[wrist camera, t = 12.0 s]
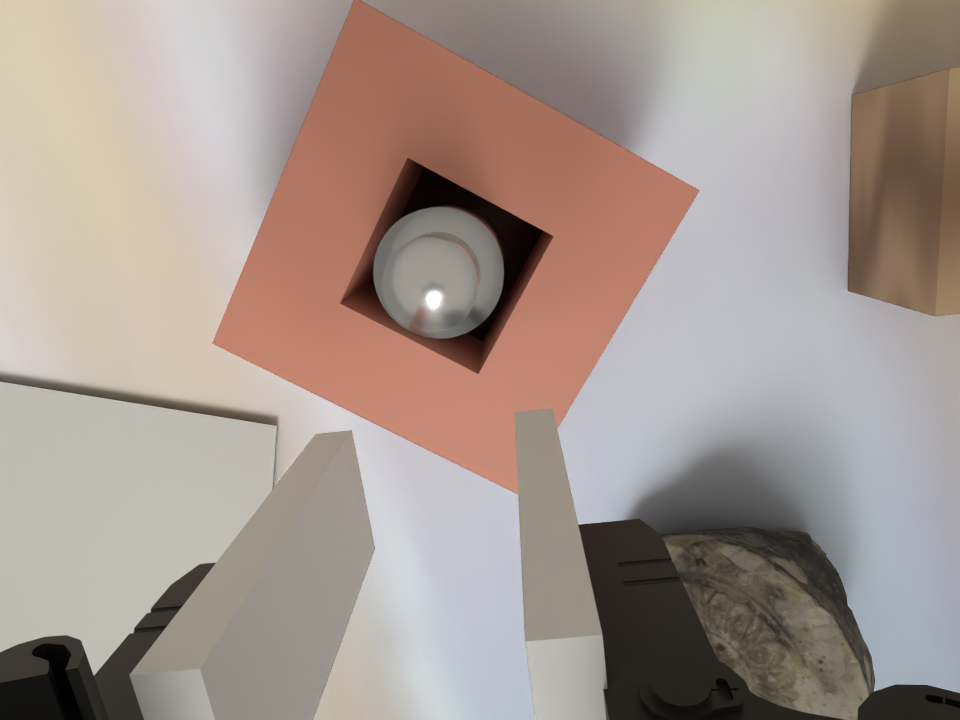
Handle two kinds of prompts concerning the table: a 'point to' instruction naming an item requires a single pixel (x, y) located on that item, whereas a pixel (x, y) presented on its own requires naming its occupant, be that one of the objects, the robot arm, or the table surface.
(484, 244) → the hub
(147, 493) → the paper stack
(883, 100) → the stand
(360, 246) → the salmon square frame
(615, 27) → the table surface
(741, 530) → the fossil
